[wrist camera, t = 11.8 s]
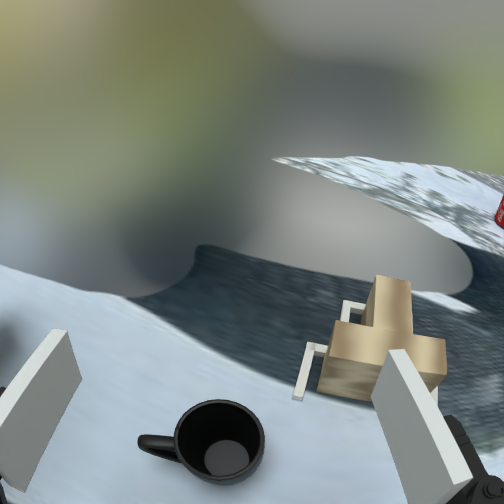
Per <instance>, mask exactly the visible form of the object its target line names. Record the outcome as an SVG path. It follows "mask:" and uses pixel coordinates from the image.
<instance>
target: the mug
mask: <svg viewBox="0 0 504 504" xmlns="http://www.w3.org/2000/svg"><path fill="white" fill-rule="evenodd" d="M264 445H265V435H264V431H263V427H262V425H261V423H260V421H259V419H258V418H257V417H256V416H255V414H254V413H253V412H252V411H250V410H249V409H248V408H246V407H245V406H243V405H241V404H239V403H237V402H233V401H229V400H221V399H216V400H208V401H205V402H201V403H199V404H197V405H195V406H193V407H191V408H190V409H189V410H188V411H187V412H185V413H184V414H183V416H182V417H181V418H180V420H179V421H178V423H177V426H176V428H175V432H174V437H171V436H161V435H147V434H145V435H140V436H139V437H138V447H139V448H140V449H141V450H143V451H145V452H147V453H150V454H152V455H155V456H158V457H161V458H165V459H168V460H171V461H175V462H179V463H182V464H183V465H184V466H185V467H186V468H187V469H188V470H189V471H190V472H191V473H192V474H194V475H195V476H196V477H198V478H200V479H201V480H203V481H206V482H209V483H212V484H217V485H230V484H235V483H238V482H241V481H243V480H244V479H246V478H248V477H249V476H250V475H251V474H252V473H253V472H254V471H255V470H256V469H257V467H258V466H259V464H260V463H261V460H262V457H263V454H264Z"/></svg>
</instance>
